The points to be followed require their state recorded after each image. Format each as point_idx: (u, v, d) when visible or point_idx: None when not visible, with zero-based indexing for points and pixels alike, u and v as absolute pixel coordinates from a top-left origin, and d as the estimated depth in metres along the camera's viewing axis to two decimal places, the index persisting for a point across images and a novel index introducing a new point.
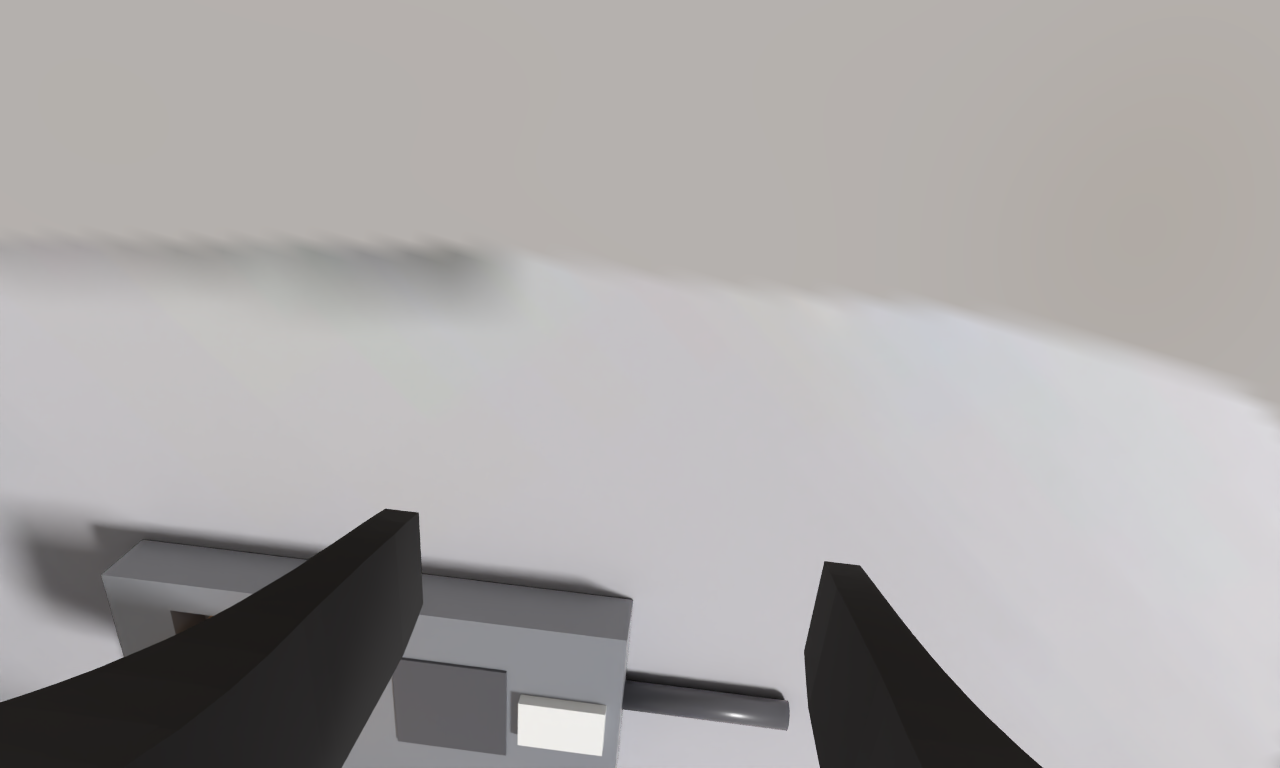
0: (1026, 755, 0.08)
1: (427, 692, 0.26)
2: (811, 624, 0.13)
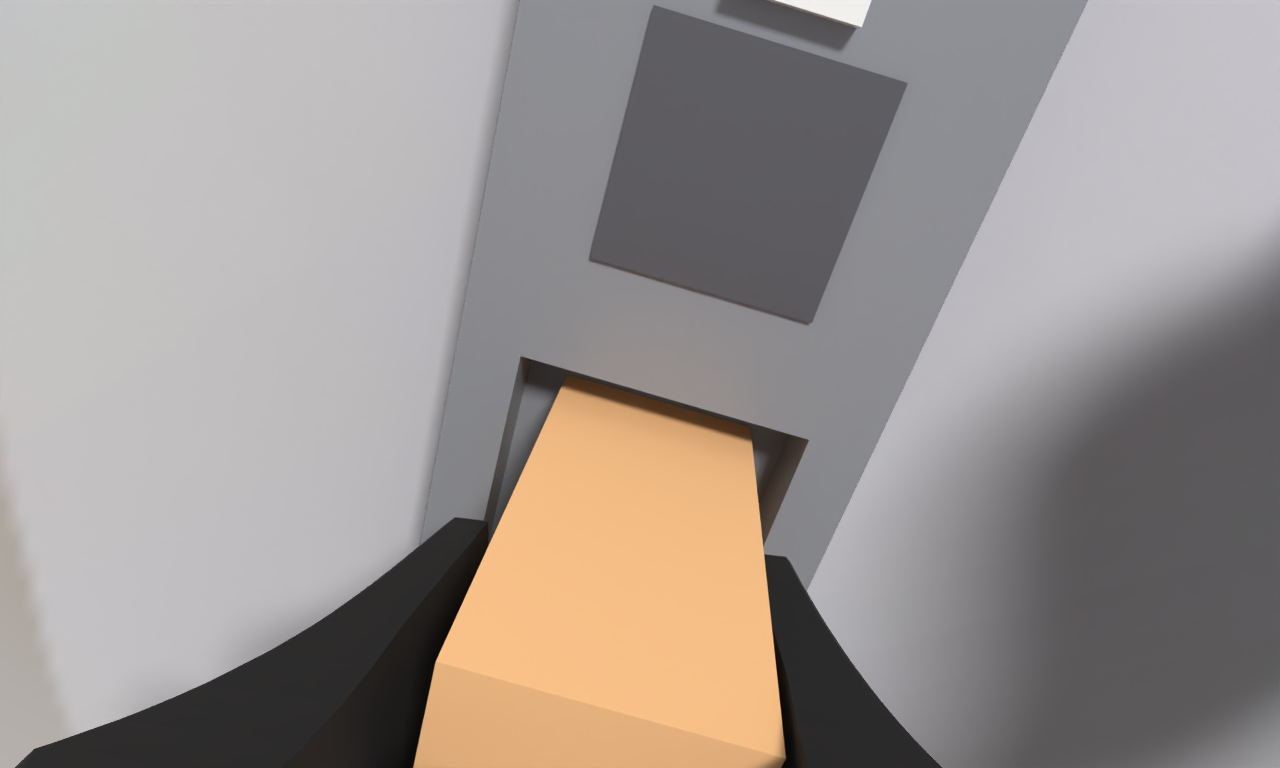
0: (912, 740, 0.08)
1: (693, 214, 0.12)
2: None
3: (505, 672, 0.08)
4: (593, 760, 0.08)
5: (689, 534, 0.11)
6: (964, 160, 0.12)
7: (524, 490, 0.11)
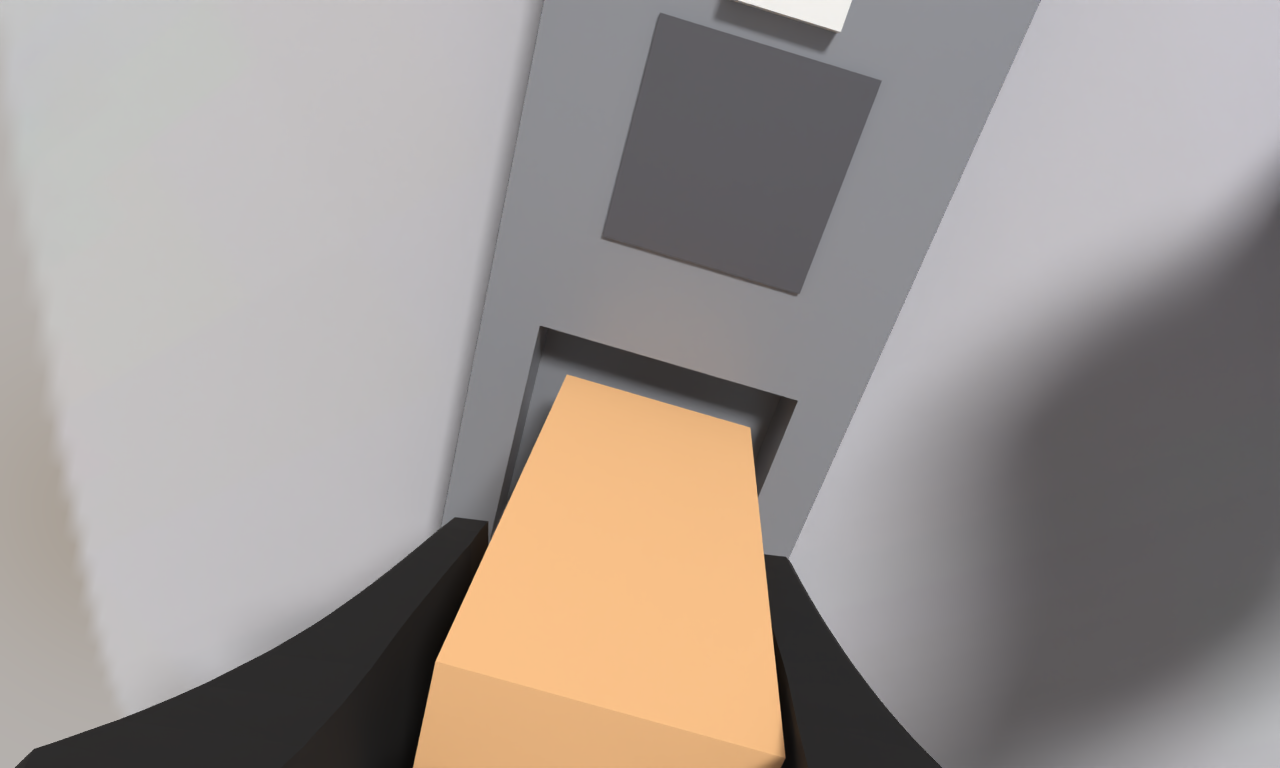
0: (912, 740, 0.08)
1: (694, 197, 0.14)
2: None
3: (505, 672, 0.08)
4: (592, 760, 0.08)
5: (689, 534, 0.11)
6: (932, 148, 0.13)
7: (524, 490, 0.11)
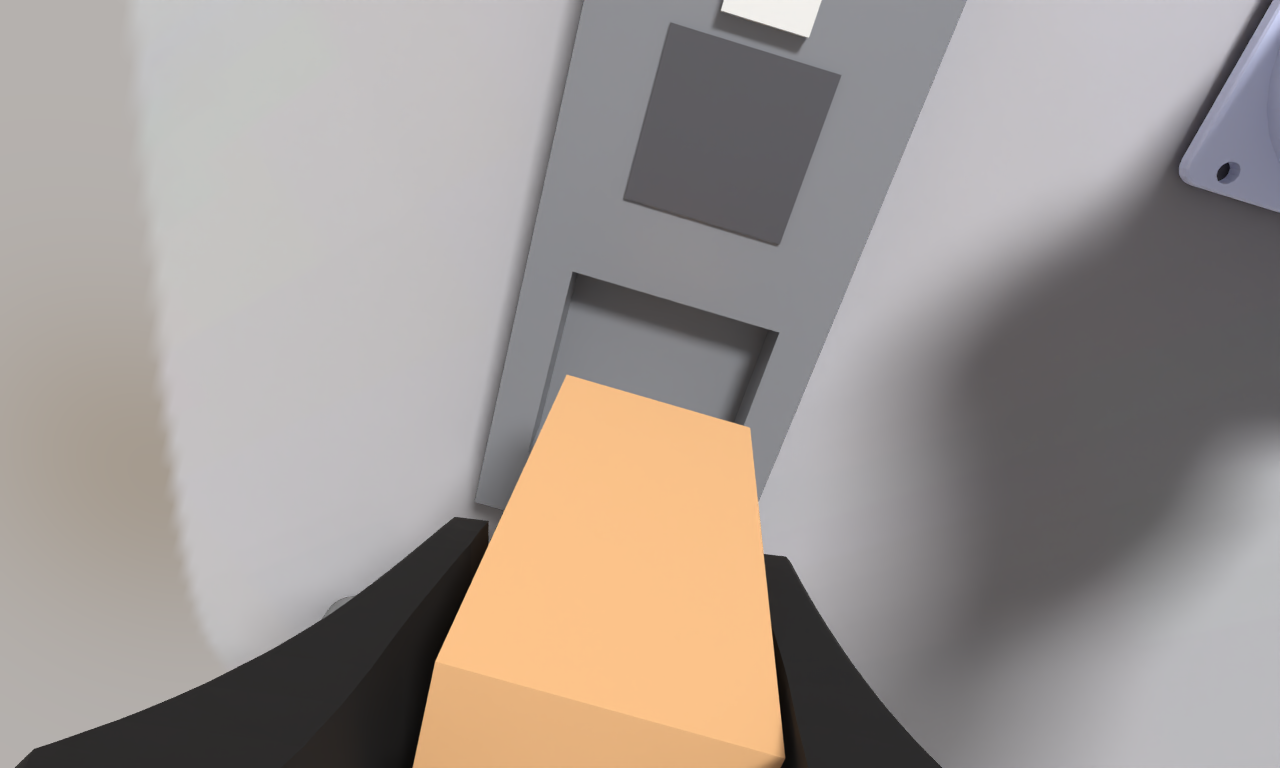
0: (912, 740, 0.08)
1: (697, 166, 0.18)
2: None
3: (505, 672, 0.08)
4: (592, 760, 0.08)
5: (689, 534, 0.11)
6: (881, 128, 0.17)
7: (524, 490, 0.11)
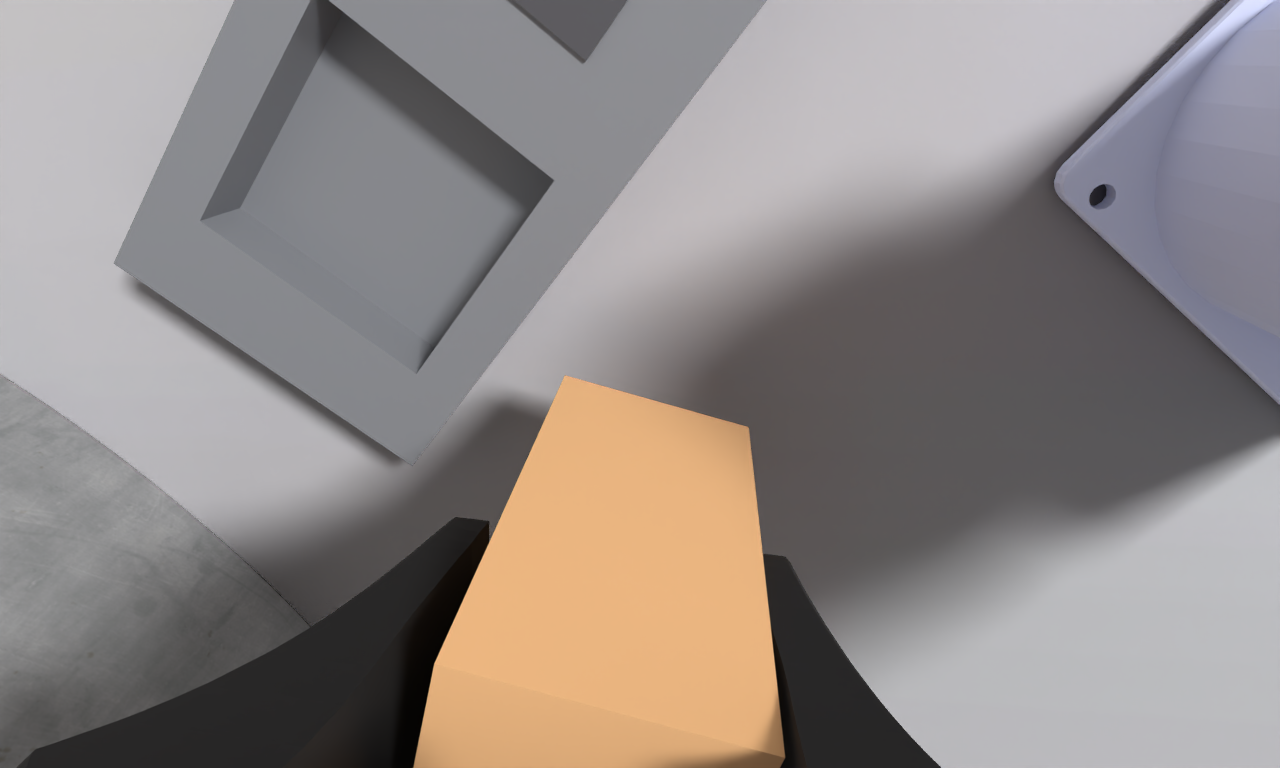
0: (911, 740, 0.08)
1: None
2: None
3: (503, 674, 0.08)
4: (593, 761, 0.08)
5: (688, 535, 0.11)
6: None
7: (522, 491, 0.11)
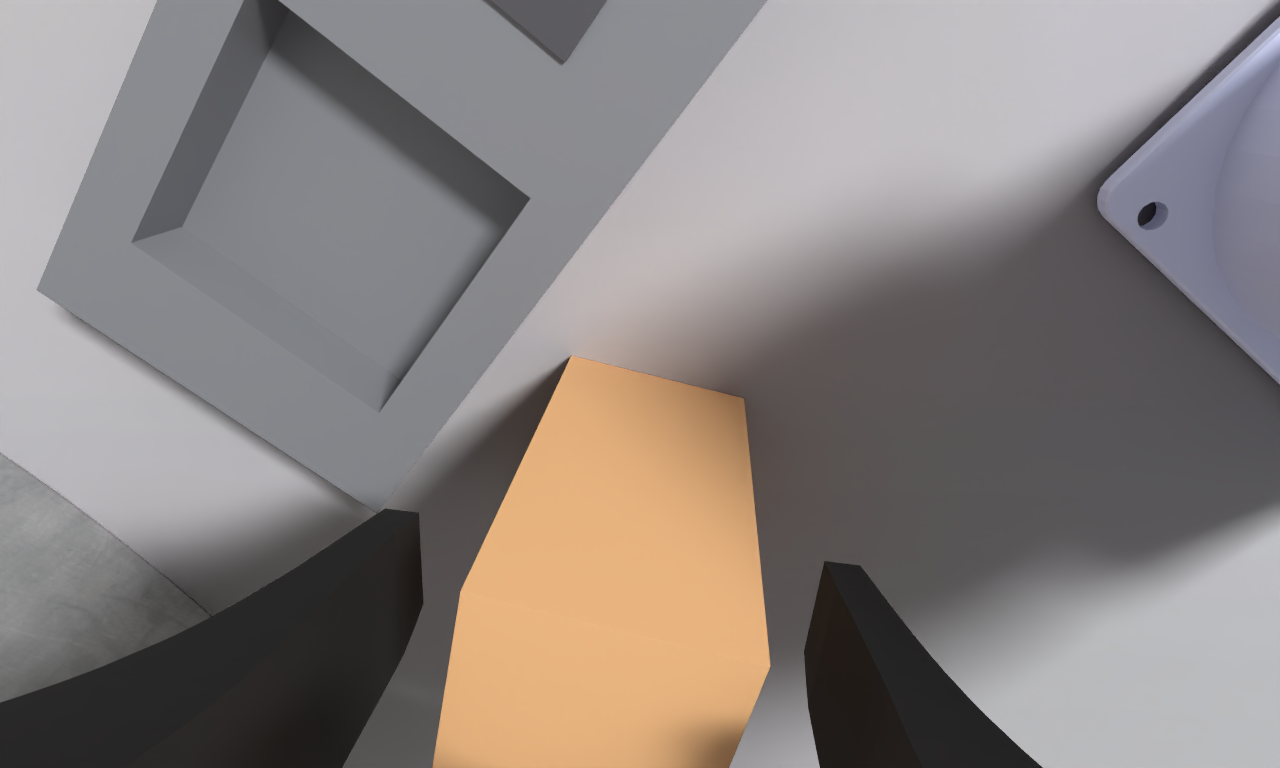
0: (1026, 755, 0.08)
1: None
2: (810, 624, 0.13)
3: (522, 598, 0.09)
4: (602, 676, 0.10)
5: (686, 488, 0.13)
6: None
7: (534, 454, 0.12)
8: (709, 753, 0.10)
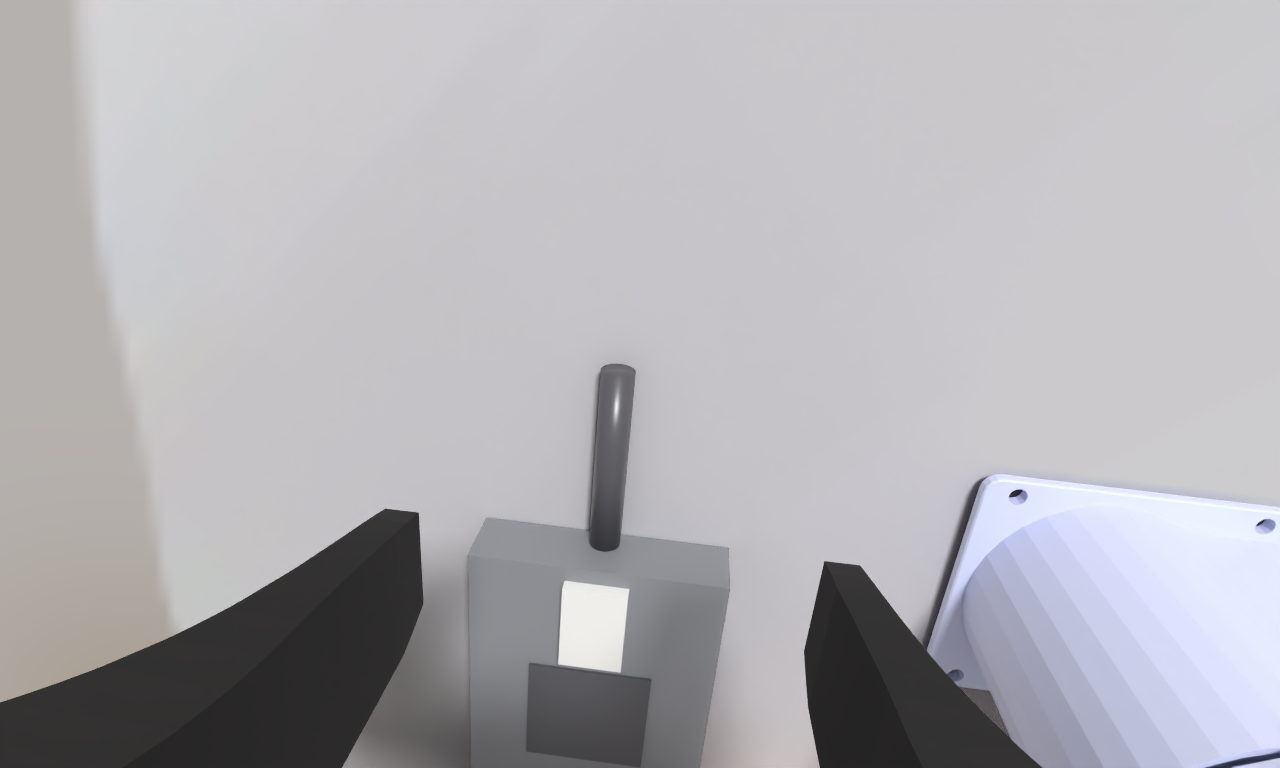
0: (1026, 755, 0.08)
1: (570, 730, 0.25)
2: (811, 624, 0.13)
3: None
4: None
5: None
6: (689, 702, 0.24)
7: None
8: None
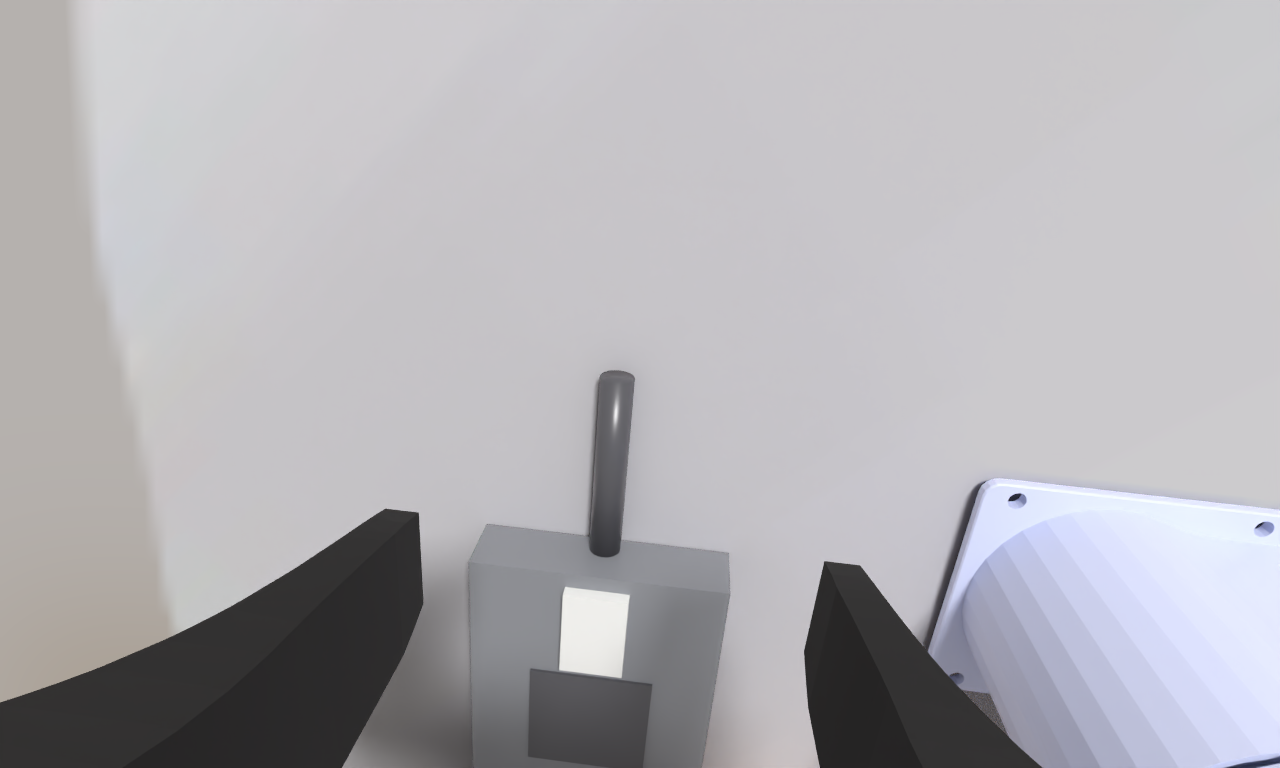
0: (1026, 755, 0.08)
1: (572, 735, 0.25)
2: (811, 624, 0.13)
3: None
4: None
5: None
6: (690, 707, 0.24)
7: None
8: None
